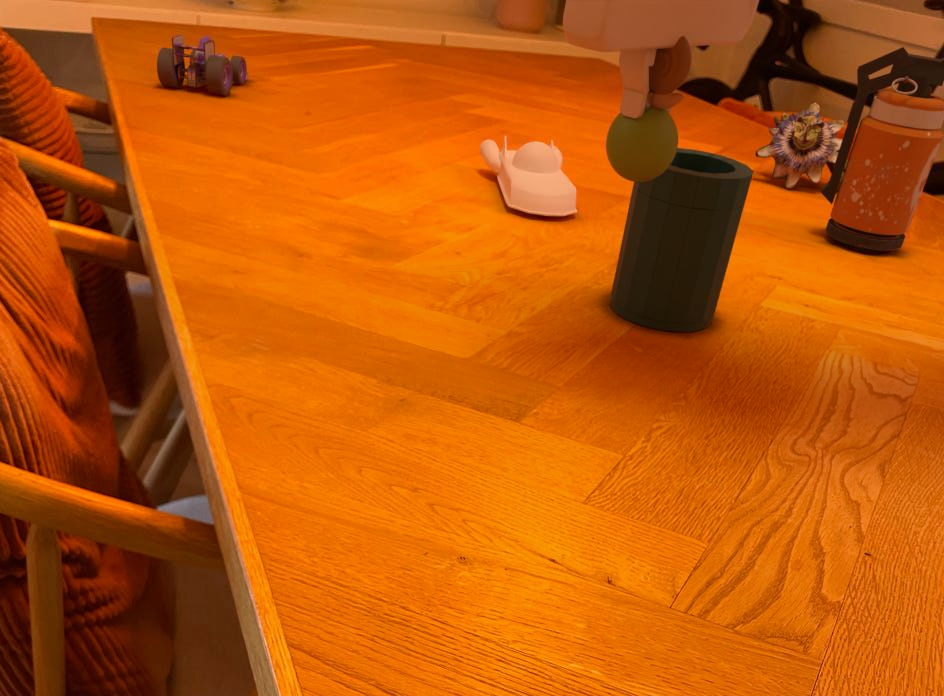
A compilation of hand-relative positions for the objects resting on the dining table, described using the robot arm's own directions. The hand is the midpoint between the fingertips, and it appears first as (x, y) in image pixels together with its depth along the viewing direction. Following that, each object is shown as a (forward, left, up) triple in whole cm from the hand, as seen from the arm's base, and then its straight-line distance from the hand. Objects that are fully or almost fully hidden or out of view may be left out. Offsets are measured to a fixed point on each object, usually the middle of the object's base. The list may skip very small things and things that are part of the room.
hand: (644, 114), depth 74 cm
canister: (0, -53, -18) cm, 56 cm away
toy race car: (+92, -29, -18) cm, 98 cm away
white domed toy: (+31, -30, -18) cm, 47 cm away
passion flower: (+17, -73, -18) cm, 77 cm away
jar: (0, -11, -18) cm, 21 cm away
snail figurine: (0, 0, -5) cm, 5 cm away
